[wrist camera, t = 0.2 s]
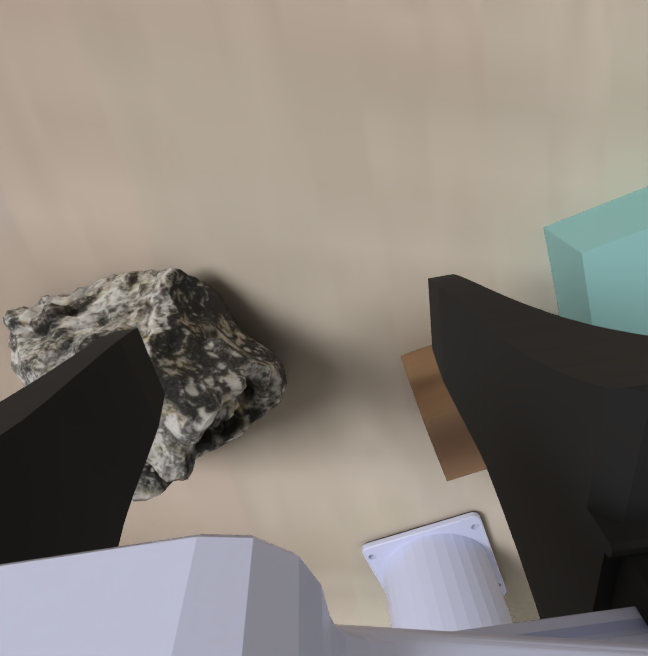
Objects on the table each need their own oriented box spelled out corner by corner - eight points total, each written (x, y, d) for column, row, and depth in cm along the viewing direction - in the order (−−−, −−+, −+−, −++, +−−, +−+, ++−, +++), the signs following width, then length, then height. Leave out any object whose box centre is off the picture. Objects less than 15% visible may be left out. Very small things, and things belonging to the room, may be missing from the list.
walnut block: (492, 387, 26) (532, 454, 21) (422, 410, 26) (446, 481, 22) (476, 328, 24) (516, 388, 19) (400, 355, 24) (423, 420, 20)
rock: (260, 189, 21) (27, 204, 13) (356, 383, 21) (178, 512, 13) (130, 302, 29) (-62, 352, 22) (199, 442, 29) (32, 543, 22)
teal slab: (682, 287, 23) (740, 321, 20) (560, 330, 24) (598, 369, 21) (678, 171, 20) (745, 191, 17) (541, 225, 21) (581, 253, 18)
